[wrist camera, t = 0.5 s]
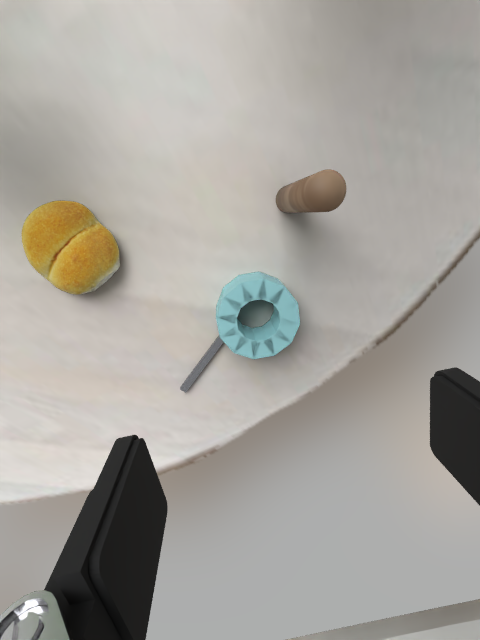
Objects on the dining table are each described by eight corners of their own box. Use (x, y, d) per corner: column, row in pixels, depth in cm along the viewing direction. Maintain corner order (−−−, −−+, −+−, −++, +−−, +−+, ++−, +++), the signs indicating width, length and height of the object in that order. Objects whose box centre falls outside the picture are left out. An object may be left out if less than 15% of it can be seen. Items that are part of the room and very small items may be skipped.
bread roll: (67, 184, 30) (46, 180, 27) (135, 254, 33) (125, 259, 29) (13, 240, 32) (-15, 244, 28) (82, 304, 34) (65, 315, 30)
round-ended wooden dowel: (291, 179, 31) (332, 160, 20) (305, 201, 32) (353, 194, 21) (270, 197, 32) (299, 187, 20) (285, 218, 32) (321, 220, 21)
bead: (260, 256, 34) (266, 262, 30) (304, 313, 36) (315, 325, 32) (202, 305, 35) (200, 316, 31) (248, 356, 37) (251, 372, 34)
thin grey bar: (220, 332, 36) (220, 334, 36) (226, 336, 36) (226, 338, 36) (180, 386, 38) (180, 389, 37) (186, 389, 38) (185, 392, 38)
